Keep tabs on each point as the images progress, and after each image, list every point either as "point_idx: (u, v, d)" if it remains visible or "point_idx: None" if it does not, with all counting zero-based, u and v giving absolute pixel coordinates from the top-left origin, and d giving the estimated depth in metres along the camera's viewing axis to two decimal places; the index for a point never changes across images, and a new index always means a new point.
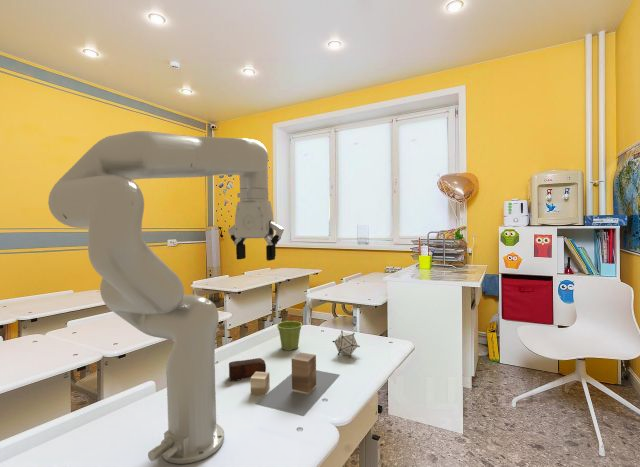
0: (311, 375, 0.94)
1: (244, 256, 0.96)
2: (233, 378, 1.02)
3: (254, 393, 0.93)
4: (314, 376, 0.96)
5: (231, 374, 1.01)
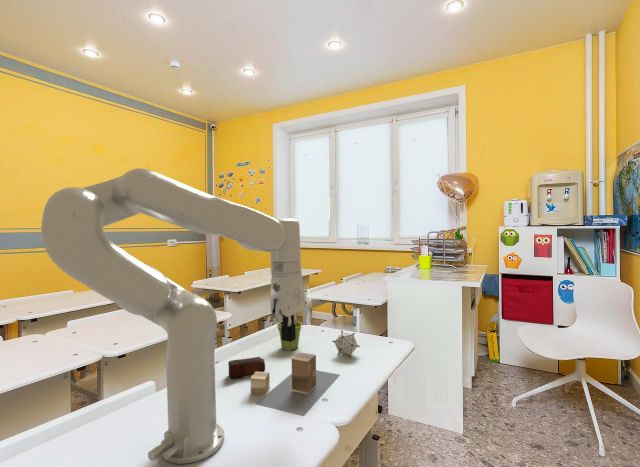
0: (311, 375, 0.94)
1: None
2: (233, 376, 1.03)
3: (254, 393, 0.93)
4: (314, 376, 0.96)
5: (230, 373, 1.02)
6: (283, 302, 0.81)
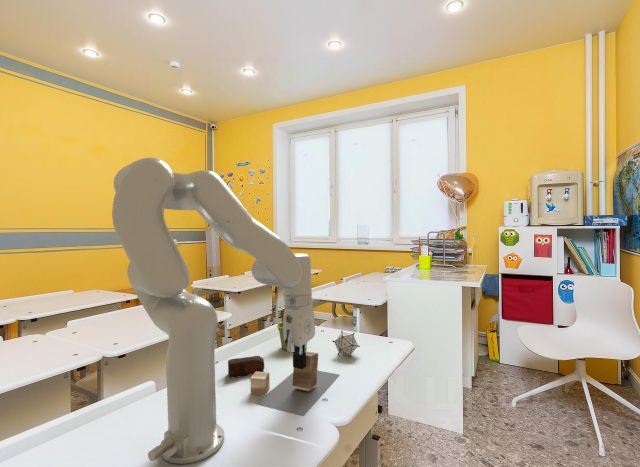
0: (313, 372, 0.95)
1: None
2: (232, 375, 1.04)
3: (254, 393, 0.93)
4: (315, 375, 0.96)
5: (230, 371, 1.03)
6: (295, 333, 0.87)
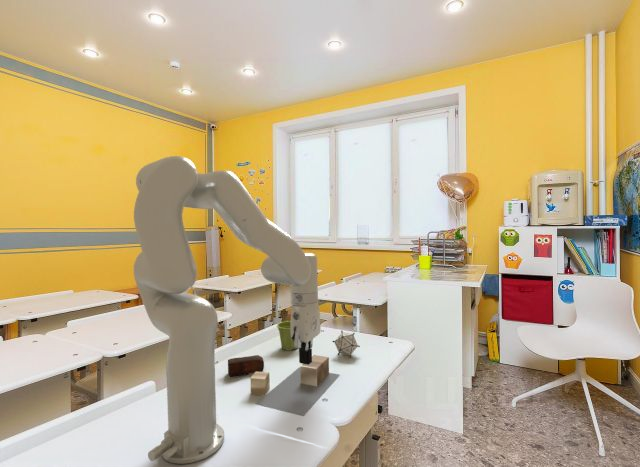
0: (322, 370, 1.01)
1: None
2: (232, 374, 1.04)
3: (254, 393, 0.93)
4: (321, 377, 1.00)
5: (230, 370, 1.04)
6: (302, 330, 0.91)
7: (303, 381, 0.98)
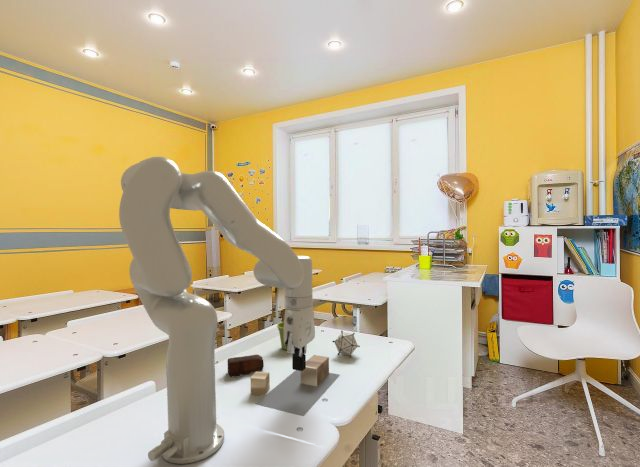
0: (322, 370, 1.01)
1: None
2: (232, 374, 1.05)
3: (254, 393, 0.93)
4: (321, 377, 1.00)
5: (230, 370, 1.04)
6: (296, 335, 0.87)
7: (303, 381, 0.98)
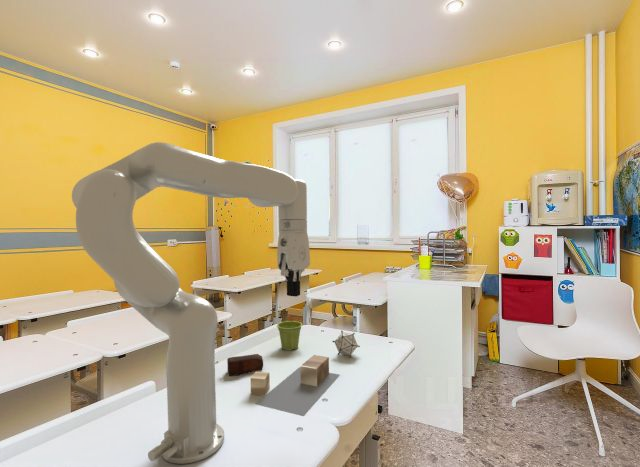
0: (322, 370, 1.01)
1: None
2: (232, 373, 1.05)
3: (254, 393, 0.93)
4: (321, 377, 1.00)
5: (229, 369, 1.05)
6: (289, 256, 0.86)
7: (303, 381, 0.98)
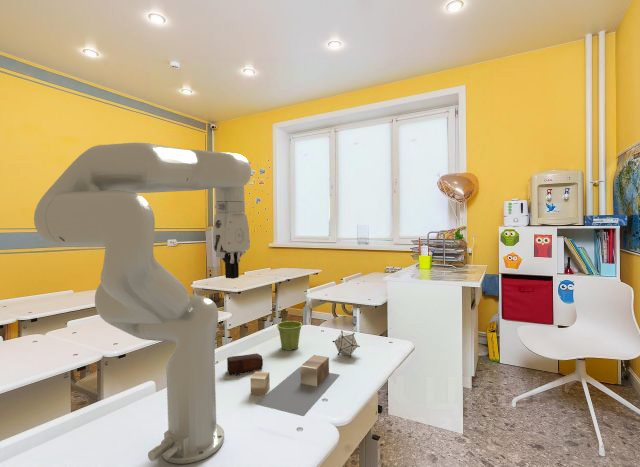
0: (322, 370, 1.01)
1: None
2: (231, 372, 1.06)
3: (254, 393, 0.93)
4: (321, 377, 1.00)
5: (229, 368, 1.05)
6: (224, 238, 0.86)
7: (303, 381, 0.98)
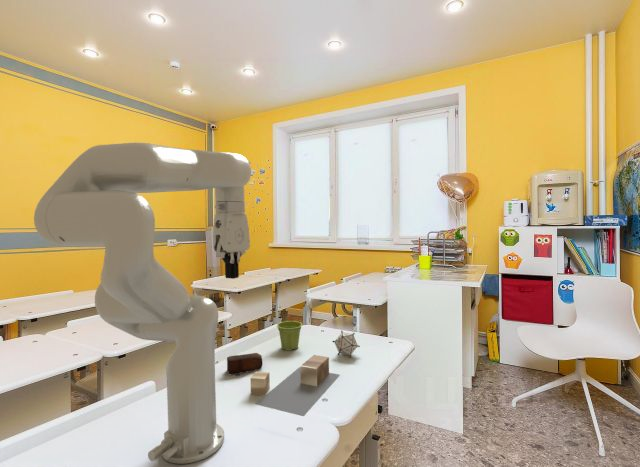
0: (322, 370, 1.01)
1: None
2: (231, 372, 1.06)
3: (254, 393, 0.93)
4: (321, 377, 1.00)
5: (229, 368, 1.06)
6: (224, 238, 0.86)
7: (303, 381, 0.98)
